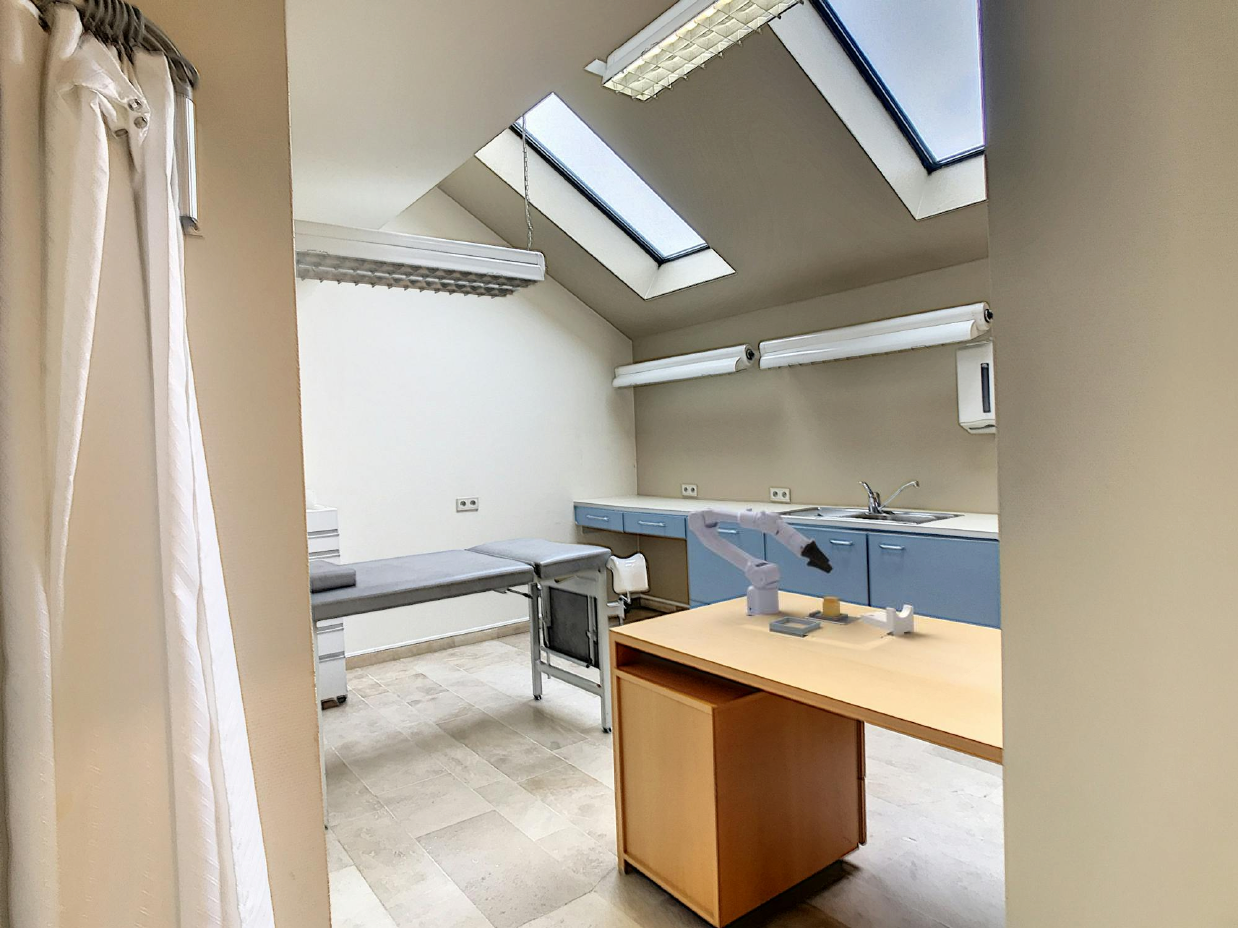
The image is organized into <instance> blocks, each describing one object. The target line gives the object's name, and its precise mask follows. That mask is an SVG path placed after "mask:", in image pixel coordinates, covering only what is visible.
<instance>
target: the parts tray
mask: <svg viewBox="0 0 1238 928" xmlns="http://www.w3.org/2000/svg"><path fill="white" fill-rule="evenodd" d="M787 622H789V623H794V624H799V625H805V626H804V627H798V626H793V625H786V624H785V623H787ZM768 624H769V628H768V629H769V632H773V633H776V634H782V635H788V636H793V637H796V638H797V637H798V638H806V637H808V636H810V635H809V634H805V633H809V632H810V631H814V630H816V629H819V628H821V621H817V620H811V619H805V618H797V617H792V616H785V617H781V618H778V619H776V620H772V621H770V622H769V623H768Z"/></svg>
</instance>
